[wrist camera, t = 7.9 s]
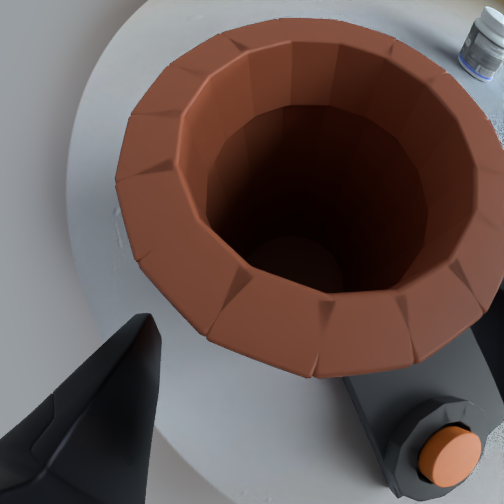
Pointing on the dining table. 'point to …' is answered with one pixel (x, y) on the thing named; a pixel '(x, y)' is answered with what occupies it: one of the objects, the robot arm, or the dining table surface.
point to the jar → (315, 197)
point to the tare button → (449, 456)
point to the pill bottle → (484, 46)
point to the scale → (425, 410)
